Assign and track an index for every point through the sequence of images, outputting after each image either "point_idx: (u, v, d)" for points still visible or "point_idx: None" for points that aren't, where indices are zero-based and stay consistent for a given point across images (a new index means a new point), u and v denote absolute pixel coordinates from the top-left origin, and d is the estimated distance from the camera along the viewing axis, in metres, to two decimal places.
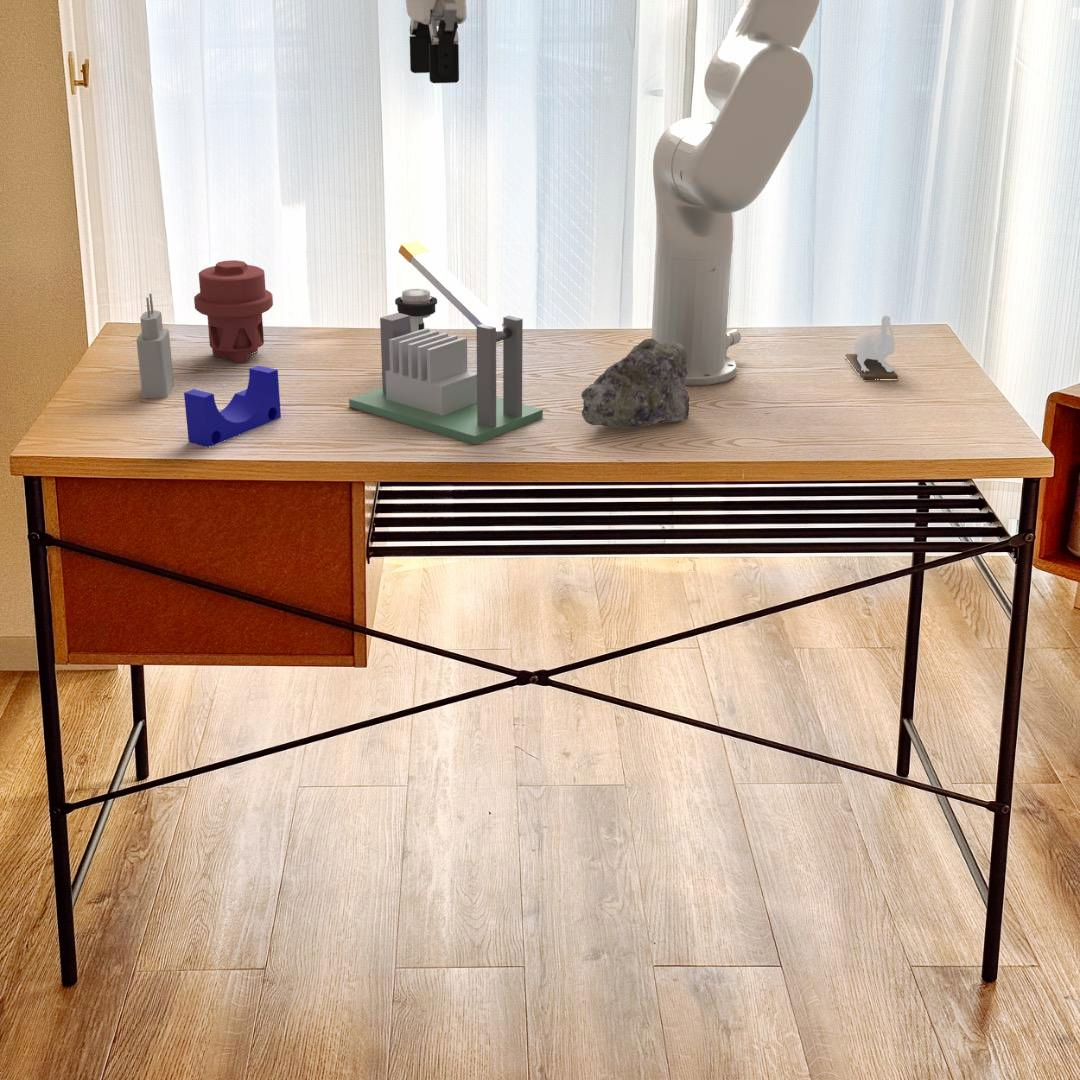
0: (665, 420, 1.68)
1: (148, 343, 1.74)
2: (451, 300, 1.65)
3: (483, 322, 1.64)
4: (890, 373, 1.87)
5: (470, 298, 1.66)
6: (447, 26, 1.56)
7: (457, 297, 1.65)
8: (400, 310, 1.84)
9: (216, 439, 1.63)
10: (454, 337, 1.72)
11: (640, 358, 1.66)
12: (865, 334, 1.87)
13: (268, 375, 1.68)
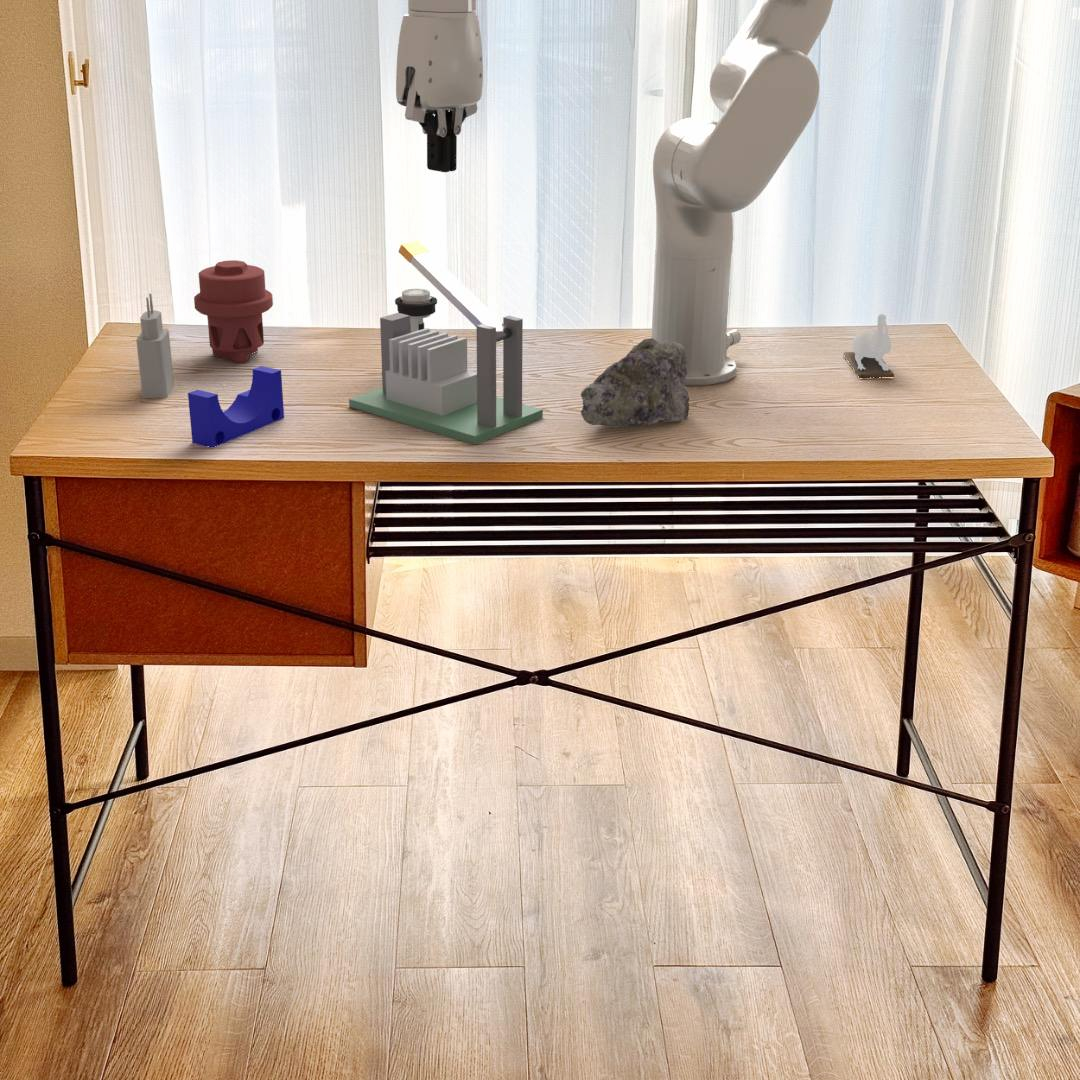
0: (664, 420, 1.68)
1: (148, 343, 1.74)
2: (451, 300, 1.65)
3: (483, 322, 1.64)
4: (886, 371, 1.88)
5: (470, 298, 1.66)
6: None
7: (457, 297, 1.65)
8: (400, 310, 1.84)
9: (220, 440, 1.63)
10: (454, 337, 1.72)
11: (640, 358, 1.66)
12: (862, 332, 1.87)
13: (271, 376, 1.68)
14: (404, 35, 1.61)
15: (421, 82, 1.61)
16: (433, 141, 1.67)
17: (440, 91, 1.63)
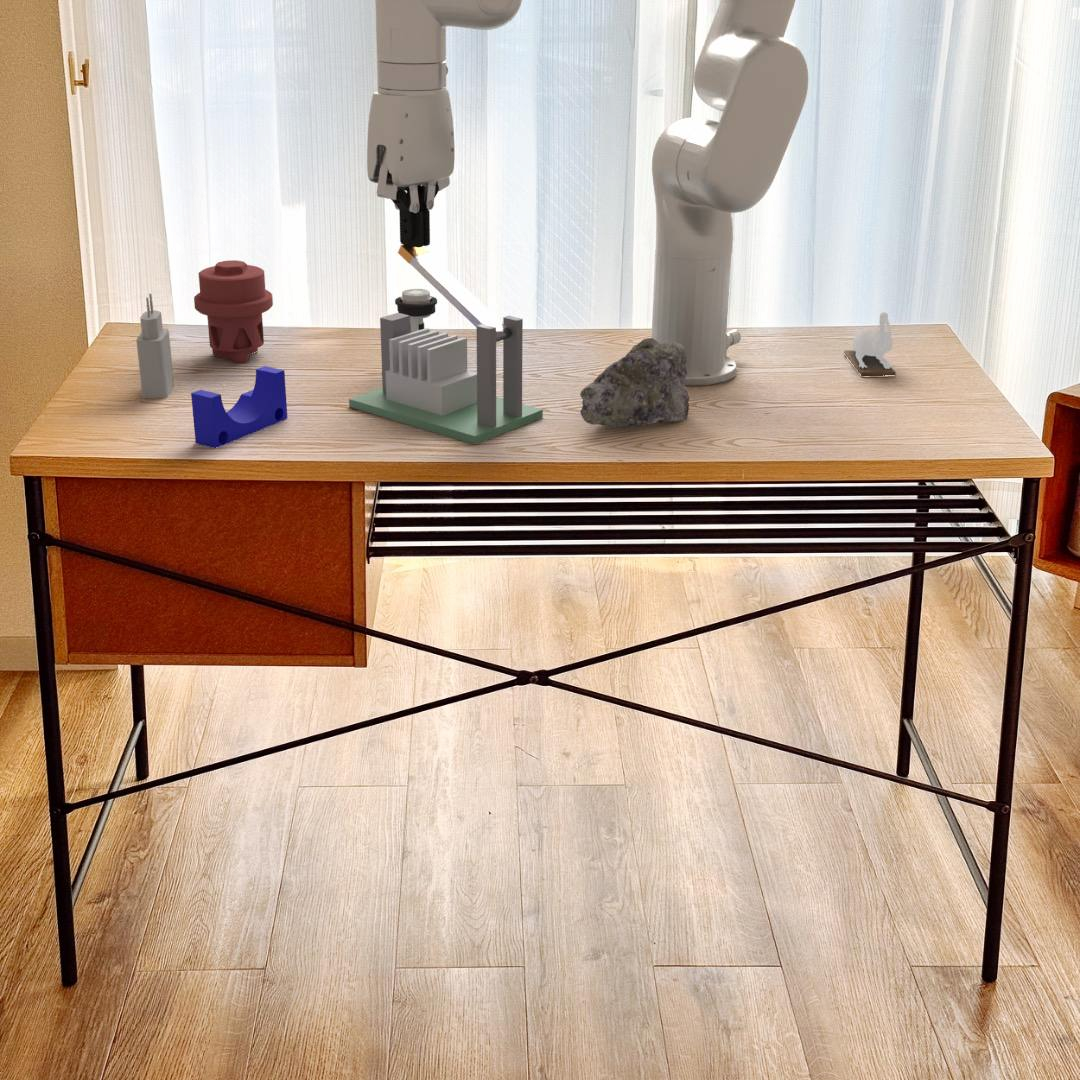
0: (664, 420, 1.68)
1: (148, 343, 1.74)
2: (451, 301, 1.65)
3: (483, 322, 1.64)
4: (888, 370, 1.88)
5: (470, 298, 1.66)
6: None
7: (457, 297, 1.65)
8: (400, 310, 1.84)
9: (223, 440, 1.63)
10: (454, 337, 1.72)
11: (639, 358, 1.66)
12: (863, 331, 1.88)
13: (274, 376, 1.68)
14: (374, 113, 1.59)
15: (393, 160, 1.59)
16: (406, 217, 1.65)
17: (412, 168, 1.61)
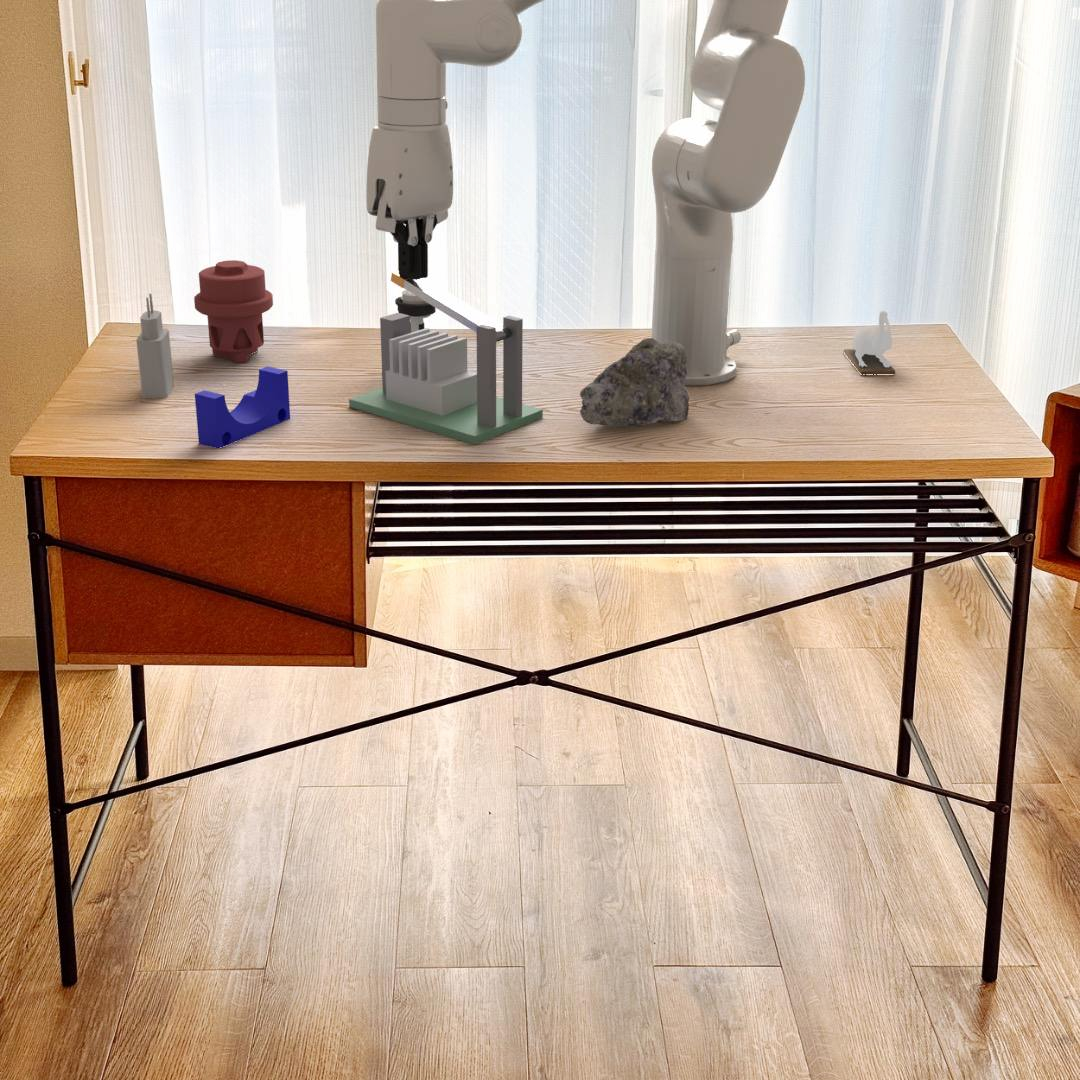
0: (664, 420, 1.68)
1: (148, 343, 1.74)
2: (447, 312, 1.66)
3: None
4: (887, 368, 1.89)
5: (466, 307, 1.67)
6: None
7: (452, 308, 1.66)
8: (400, 310, 1.84)
9: (226, 441, 1.63)
10: (454, 337, 1.72)
11: (639, 358, 1.66)
12: (863, 330, 1.89)
13: (277, 377, 1.68)
14: (374, 148, 1.60)
15: (392, 194, 1.61)
16: (404, 249, 1.67)
17: (411, 202, 1.62)
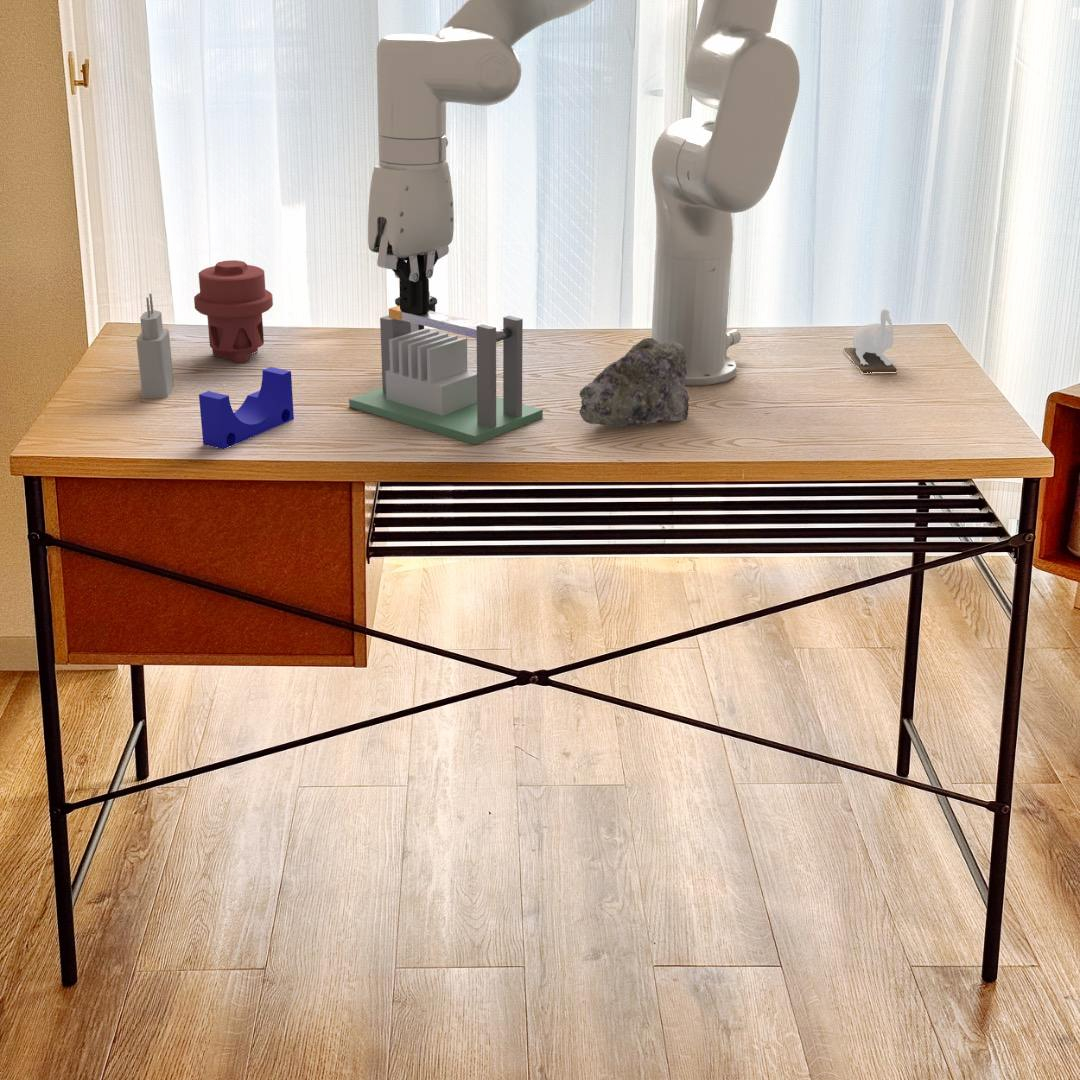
0: (663, 419, 1.68)
1: (148, 343, 1.74)
2: (446, 328, 1.67)
3: None
4: (889, 366, 1.90)
5: (463, 321, 1.68)
6: None
7: (450, 322, 1.67)
8: None
9: (231, 441, 1.63)
10: (454, 337, 1.72)
11: (639, 358, 1.67)
12: (864, 328, 1.89)
13: (281, 377, 1.67)
14: (375, 186, 1.62)
15: (393, 232, 1.62)
16: (405, 285, 1.68)
17: (412, 239, 1.64)
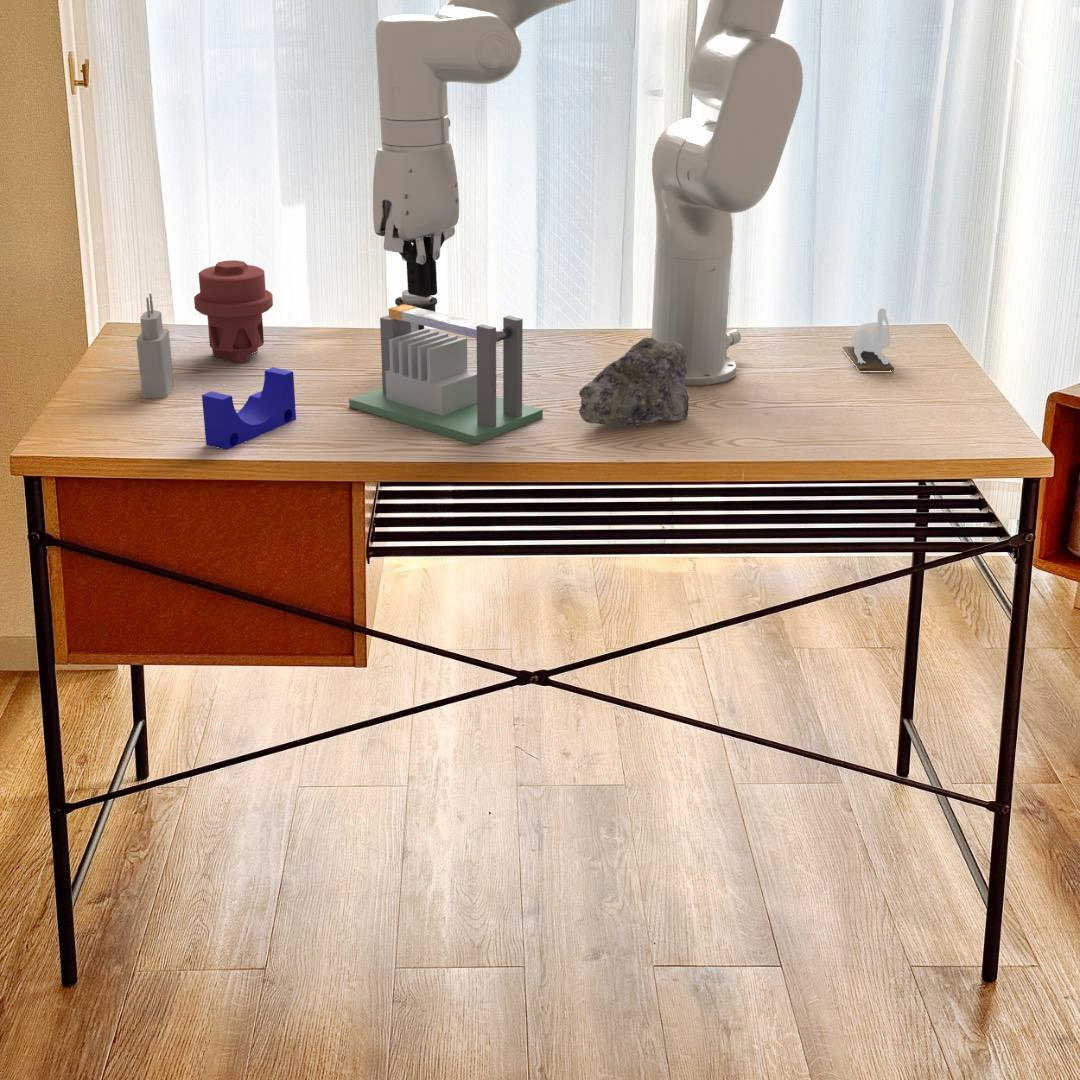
0: (663, 419, 1.68)
1: (148, 343, 1.74)
2: (446, 328, 1.67)
3: None
4: (886, 365, 1.90)
5: (463, 321, 1.68)
6: None
7: (450, 322, 1.67)
8: None
9: (234, 442, 1.63)
10: (454, 337, 1.72)
11: (638, 357, 1.67)
12: (862, 327, 1.90)
13: (283, 377, 1.67)
14: (379, 169, 1.61)
15: (398, 215, 1.62)
16: (413, 268, 1.68)
17: (417, 222, 1.64)
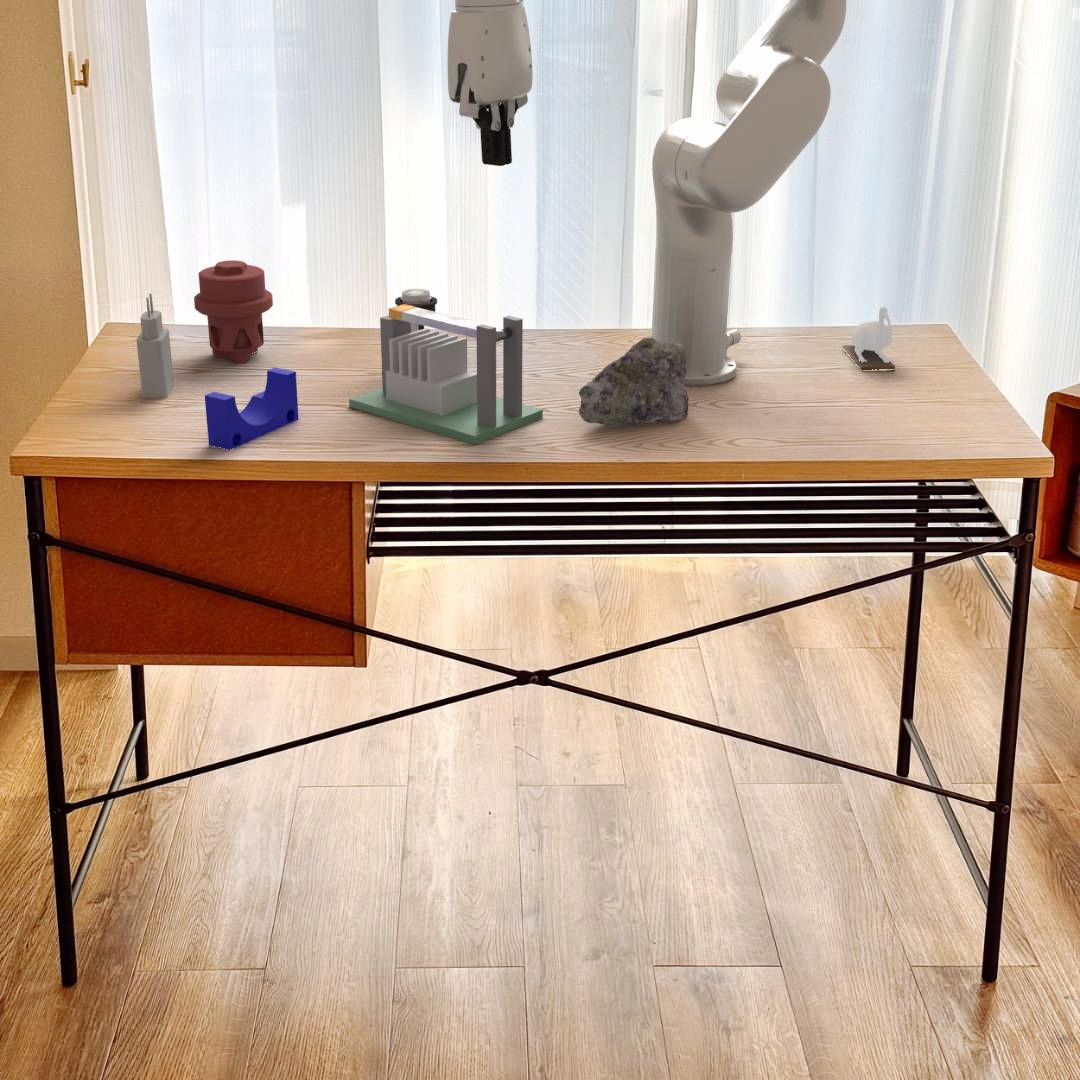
0: (663, 419, 1.68)
1: (148, 343, 1.74)
2: (446, 328, 1.67)
3: None
4: (887, 364, 1.91)
5: (463, 321, 1.68)
6: None
7: (450, 322, 1.67)
8: None
9: (236, 442, 1.63)
10: (454, 337, 1.72)
11: (638, 357, 1.67)
12: (863, 325, 1.90)
13: (286, 378, 1.67)
14: (454, 32, 1.60)
15: (475, 78, 1.60)
16: (487, 136, 1.66)
17: (493, 85, 1.62)
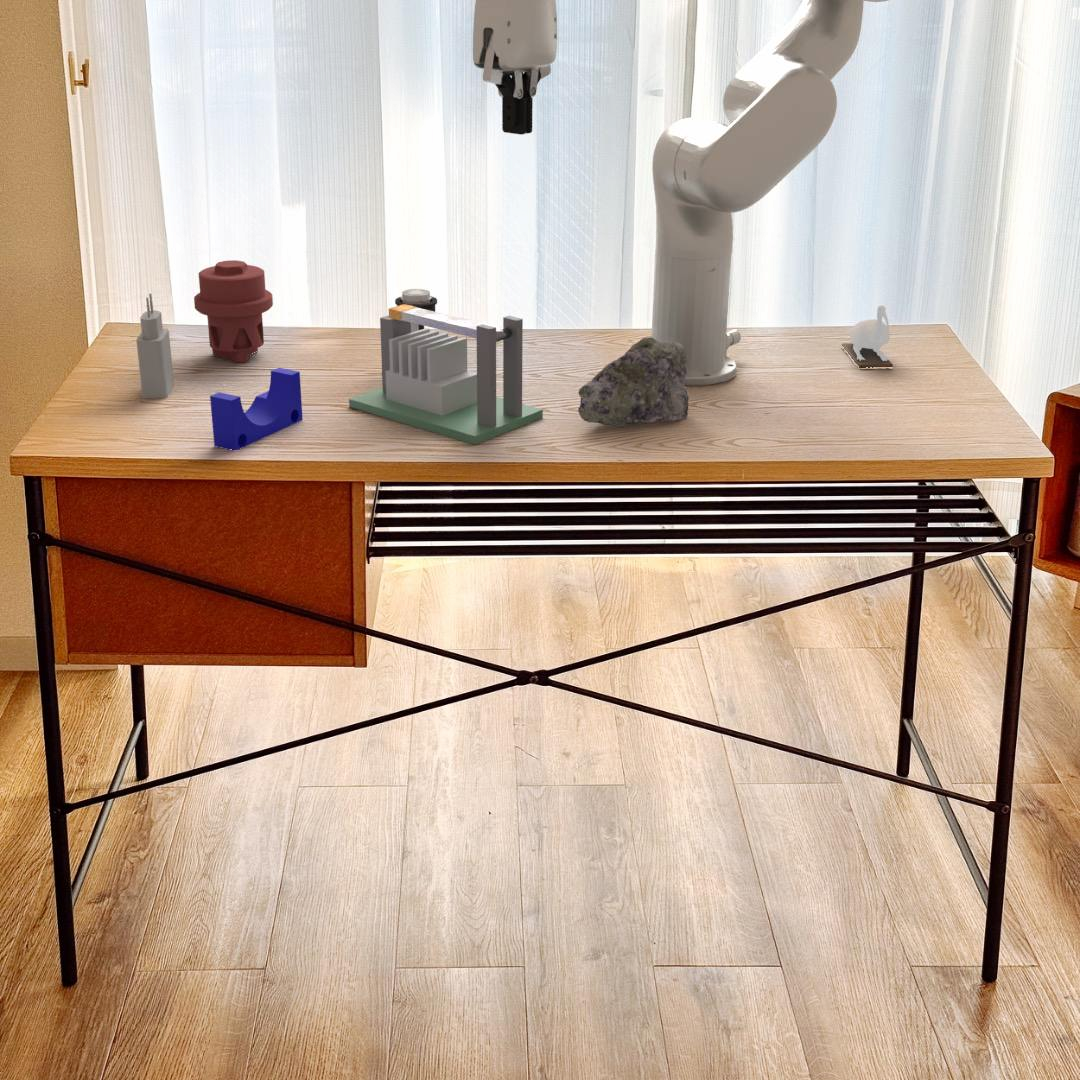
0: (662, 419, 1.69)
1: (148, 343, 1.74)
2: (446, 328, 1.67)
3: None
4: (885, 362, 1.91)
5: (463, 321, 1.68)
6: None
7: (450, 322, 1.67)
8: None
9: (242, 443, 1.62)
10: (454, 337, 1.72)
11: (638, 357, 1.67)
12: (861, 324, 1.91)
13: (290, 378, 1.67)
14: None
15: (500, 43, 1.60)
16: (509, 103, 1.66)
17: (518, 52, 1.62)
